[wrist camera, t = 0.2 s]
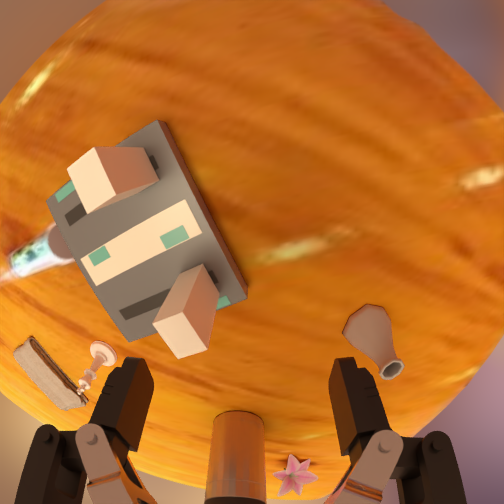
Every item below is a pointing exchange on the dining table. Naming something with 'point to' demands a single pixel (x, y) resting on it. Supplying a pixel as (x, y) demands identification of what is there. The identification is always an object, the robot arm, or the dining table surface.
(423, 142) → the dining table surface
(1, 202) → the dining table surface
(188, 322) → the tab
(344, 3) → the dining table surface
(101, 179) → the tab
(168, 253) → the switch bank
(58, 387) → the washcloth
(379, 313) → the flask
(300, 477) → the lily
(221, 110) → the dining table surface
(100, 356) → the chess piece
